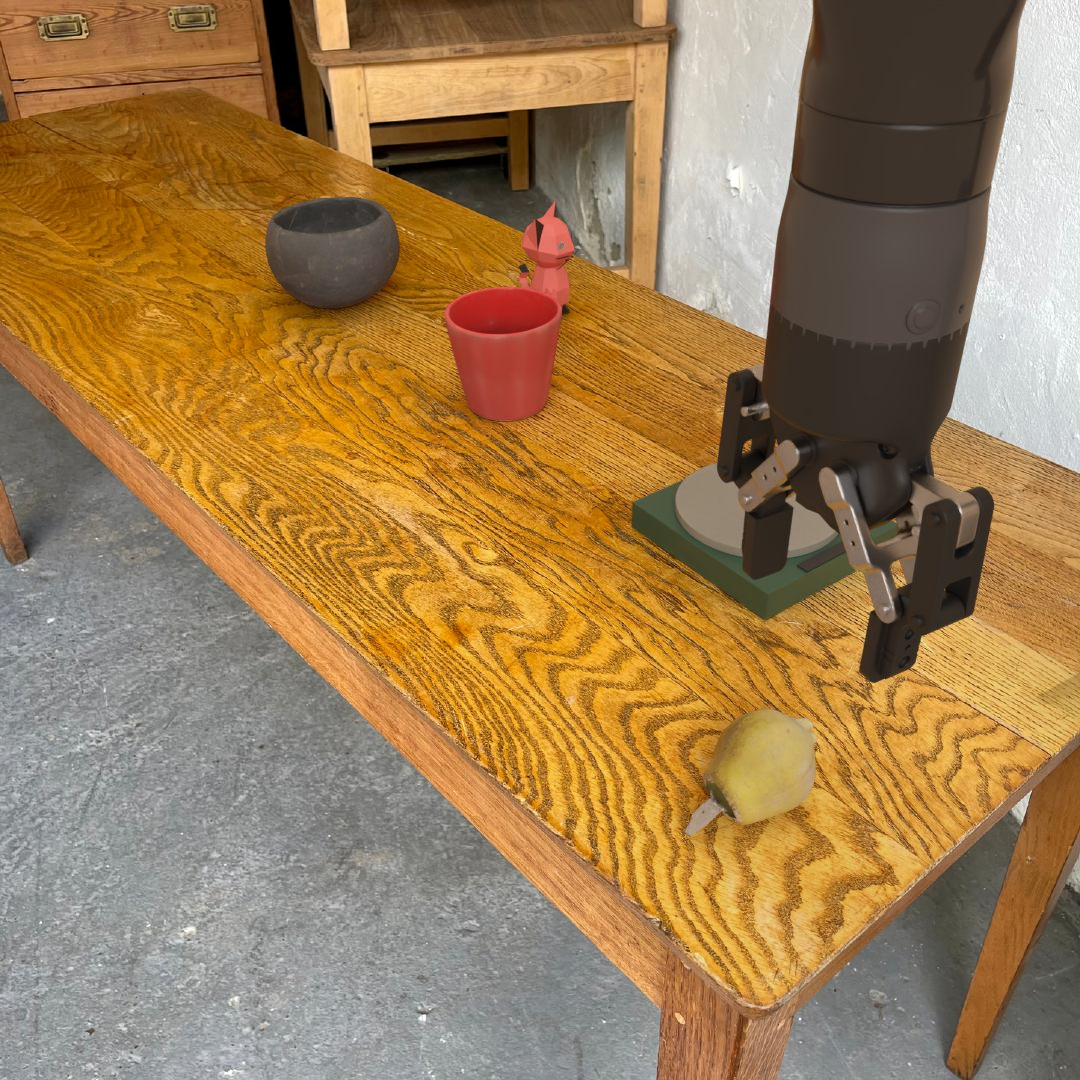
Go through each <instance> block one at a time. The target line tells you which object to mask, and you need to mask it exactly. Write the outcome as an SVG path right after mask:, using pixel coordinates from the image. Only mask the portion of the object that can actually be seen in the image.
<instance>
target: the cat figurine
mask: <svg viewBox="0 0 1080 1080" xmlns="http://www.w3.org/2000/svg"><path fill="white" fill-rule="evenodd" d="M578 244H579V241H577V244H576V245H575V246H576V247H575V246H574V243H573V232H572V231H570V232H569V228H568V225H567V224H566V223H565V222H564V221H563V220H562V219H560V218H559V213H558V207H557V200H554V202H553V203H552V204H551V206H550V207H549V208H548V210H547V211H546V212H545V214H544V215H543V216H542V217H539V218H534V219H533V221H532V222H531V223H529V225H527V226H526V228H525V230H524V233H523V235H522V238H521V248H522V250H523V251H524V253H525V255H526V257H527V258H528V259H530V260H531V261H533V262H535V263H536V264H535V267H534V271H533V274H532V276H531V280H530V285H529V282H528V276H529V275H530V270H529V269H528V267H527V265H526V263H522V264H520V265H519V266H518V269H519V271H520V275H519V277H518V280H519V281H520V285H521V288H527V289H533V290H537V291H541V292H543V293H546V294H548V295H550V296H552V297H554V298H555V299H556V300H557V301H558V302H559V303H560V305H561V308H562V315H566V314H569V313H570V312H571V309H570V307H568V306H567V303H570V287H571V286H572V284H571V280H570V274H569V273H568V272H567V269H566V267H565V265H566V264H567V263H568V262H569V261H570V260H571V259H572V258H573V257H574V256H575V255H576V254H577V252H578V251H579V249H578Z"/></svg>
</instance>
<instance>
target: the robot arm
mask: <svg viewBox="0 0 1080 1080" xmlns="http://www.w3.org/2000/svg"><path fill="white" fill-rule="evenodd" d="M1026 4H1027V0H812V14H811V15H812V16H811V23H810V28H809V33H808V39H807V45H806V49H805V54H804V59H803V64H802V69H801V74H800V81H799V87H798V101H797V110H796V118H795V119H796V120H795V129H794V138H793V147H792V148H793V149H792V157H791V166H790V172H789V179H788V185H787V190H786V195H785V199H784V203H783V207H782V211H781V214H780V219H779V224H778V227H777V232H776V233H777V234H776V239H775V240H776V242H775V249H774V250H775V251H774V259H773V269H772V278H771V289H770V296H769V307H768V308H769V309H768V318H767V326H766V327H767V328H766V338H765V346H764V347H765V348H764V357H763V363H759V364H756V365H752V366H749V367H745V368H743V369H740V370H737V371H733V372H730V373H729V375H728V376H727V381H726V390H725V397H724V407H723V412H722V413H723V414H722V421H721V430H720V437H719V446H718V453H717V460H716V461H717V462H716V463H717V472H718V475H719V477H720V479H721V480H722V481H723V482H725V483H729V482H732V481H733V482H734V483H735V485H736V486H737V487H738V489H739V491H738V500H739V503H740V505H741V507H742V508H743V509H744V510H745V517H744V527H743V531H744V532H743V536H742V537H743V539H742V546H741V548H742V555H743V565H742V570H743V571H744V572H745V573H746V574H747V575H748V576H749V577H751V578H752V579H753V580H757V579H760V578H763V577H766V576H768V575H771V574H774V573H776V572H779V571H780V570H782V569H783V568H784V566H785V565H786V562H787V555H788V547H789V539H790V532H791V524H792V517H793V509H794V507H792V506H791V505H790V504H789V503H787V502H786V499H788V498H791V497H792V496H793V495H795V494H796V500H795V501H796V502H798V503H799V504H800V505H802V506H803V507H804V508H806V509H807V510H810V511H813V512H815V513H818V514H819V515H820V516H821V517H822V518H823V519H824V521H825V522H826V523H827V524H828V525H829V526H830V527H831V528H832V529H833V530H835V531H836V532H837V533H839V534H840V535H841V537H842V540H843V544H844V547H845V550H846V553H847V557H848V560H849V563H850V565H851V567H852V568H853V569H855V570H857V571H856V572H860V573H861V574H863V577H864V580H865V584H866V587H867V590H868V593H869V597H870V599H871V604H872V606H873V609H872V610H871V611H869V616H868V620H867V626H866V632H865V637H864V642H863V648H862V653H861V658H860V662H859V667H858V668H859V669H858V670H859V673H860V674H861V675H862V676H863V677H864V678H866V679H867V680H868V681H869V682H870V683H872V684H876V683H878V682H881V681H883V680H888V679H890V678H892V677H894V676H897V675H899V674H901V673H904V672H906V671H908V670H910V669H912V668H913V667H914V665H915V664H916V662H917V658H918V655H919V654H918V653H919V650H920V645H921V641H922V637H925V636H927V635H929V634H931V633H934V632H936V631H939V630H941V629H943V628H946V627H948V626H951V625H953V624H955V623H957V622H960V621H962V620H965V619H967V618H969V617H971V616H972V615H973V614H974V612H975V608H976V604H977V597H978V593H979V588H980V584H981V583H980V582H981V578H982V577H981V576H982V573H983V567H984V562H985V557H986V552H987V547H988V542H989V535H990V533H991V532H990V531H991V527H992V526H991V525H992V520H993V516H994V511H995V500H994V497H993V495H992V493H991V492H990V491H989V490H988V489H987V488H986V487H984V486H975V487H971V488H968V489H966V490H964V491H959V490H958V489H956V488H954V487H953V486H951V485H949V484H947V483H945V482H944V481H942V480H940V479H938V478H937V477H935V470H934V465H933V459H932V443H933V441H934V439H935V437H936V435H937V433H938V431H939V430H940V428H941V427H942V424H943V423H944V422H945V420H946V418H947V417H948V415H949V413H950V411H951V408H952V407H953V402H954V397H955V392H956V387H957V383H958V379H959V374H960V368H961V366H962V365H961V364H962V360H963V355H964V351H965V347H966V341H967V336H968V332H969V328H970V323H971V319H972V314H973V309H974V305H975V301H976V297H977V291H978V286H979V283H980V277H981V273H982V268H983V263H984V258H985V254H986V253H985V252H986V247H987V237H988V223H989V210H990V209H989V207H990V198H991V192H992V184H993V183H992V182H993V180H994V175H995V172H996V171H995V170H996V167H997V161H998V156H999V153H1000V147H1001V143H1002V139H1003V133H1004V128H1005V124H1006V120H1007V114H1008V109H1009V104H1010V101H1011V95H1012V88H1013V83H1014V79H1015V78H1014V76H1015V69H1016V60H1017V51H1018V42H1019V29H1020V23H1021V20H1022V15H1023V12H1024V9H1025V6H1026ZM749 441H751V442H750V449H749V450H750V451H749V450H747V451H744V446H745V444H746V443H748V442H749ZM776 443H777V447H776ZM743 451H744V452H743ZM894 519H895V523H896V524H897V525H898V532H897V535H896V536H895V538H893V539H891V540H888V541H886V542H883V543H880V544H878V545H876V544H874V542H873V541H872V538H871V535H870V532H869V531H870V530H873V529H876V528H878V527H881V526H884V525H886V524H887V523H889V522H890V521H893V520H894ZM897 561H899V564H900V567H901V570H902V574H903V577H904V580H905V583H906V584H904V585H902V586H900V587H897V586H896V582H895V579H894V575H893V573H892V564H893V563H894V562H897Z"/></svg>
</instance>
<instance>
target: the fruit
mask: <svg viewBox="0 0 1080 1080" xmlns="http://www.w3.org/2000/svg"><path fill="white" fill-rule="evenodd" d="M812 728H814V723H813V722H812V720H810V719H809V718H808V717H795V716H788V715H786V714H784V713H783V712H781V711H779V710H776V709H771V708H761V709H757V710H752V711H750V712H749V711H748V712H747V713H745V714H742V715H740V716H738V717H737V718H735V719H734V720H733V721H732V722H730V723H729V724H728V725H727V726H726V728H725V729H724V730H723V731H722V732H721V734H720V735H719V738H718V740H717V742H716V745H715V747H714V750H713V753H712V756H711V757H712V758H711V761H710V762H709V763H708V765H707V766H706V768H705V771H704V772H703V775H702V782H703V784H704V786H705V788H706V789H707V792H708V794H709V795H710V798H707V799H706V801H703V803H702V804H700V806H698V808H696V810H695V811H694V812H693V813H692V814H691V818H690V820H689V823H688V824H687V826H686V829H685V831H684V833H685V834H686V835H687V836H688V837H692V836H693V835H695V834H697V833H698V832H701V830H702V829H704V828H705V827H706V826H707V825H709V824H710V823H711V822H712V821H713V820H714V819H715V818H716V817H717V816H718V815H719V814H721V813H722V814H723V815H724V816H725V817H726V818H727V819H729V820H731V821H732V822H735V823H737V824H739V825H742V826H749V825H753V824H755V823H759V822H762V821H765V820H768V819H770V818H773V817H776V816H779V815H782V814H785V813H788V812H789V811H792V810H793V809H796V808H797V807H798V806H799V805H801V804H803V802H804V801H805V800H806V799H807V797H809V795H810V793H811V791H812V789H813V787H814V784H815V781H816V777H817V763H816V751H815V744H816V743H818V737H817V735H816V733H815V732H814V731H813V730H812Z"/></svg>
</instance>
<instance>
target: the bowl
mask: <svg viewBox="0 0 1080 1080" xmlns="http://www.w3.org/2000/svg"><path fill="white" fill-rule="evenodd" d="M266 227H267V228H266V234H265V242H264V243H265V244H264V245H265V247H264V248H265V257H266V260H267V263H268V267H269V269H270V271H271V274H272V275H273V277H274V278H275V279H276V281H277V283H278V284H279V285H280V287H281V288H282V289H284V291H286V292H287V293H288V294H290V295H291V296H293V297H294V298H295V299H297V300H298V301H299V302H302V303H303V304H306V305H308V306H311V307H314V308H319V309H339V308H341V309H342V308H347V307H351V306H354V305H357V304H360V303H362V302H365V301H367V300H369V299H370V298H372V297H373V296H375V295H376V294H377V293H379V292H380V291H381V290H382V289H384V287H386V285H387V284H388V282H389V281H390V280H391V279H392V277H393V275H394V273H395V271H396V268H397V266H398V262H399V260H400V251H401V244H400V243H401V242H400V236H399V231H398V227H397V225H396V222H395V220H394V218H393V216H392V215H391V213H390V212H389V210H387V208H386V207H385V206H383V205H382V204H380V203H379V202H377V201H375V200H372V199H370V198H369V199H368V198H364V197H357V196H338V197H336V196H335V197H319V198H314V199H309V200H305V201H302V202H299V203H294V204H292V205H290V206H287V207H284V208H282V209H280V210H278V211H277V212H275V213H274V214H273V215H272V217H271V218H270V219H269V220H268V222H267V226H266Z"/></svg>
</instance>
